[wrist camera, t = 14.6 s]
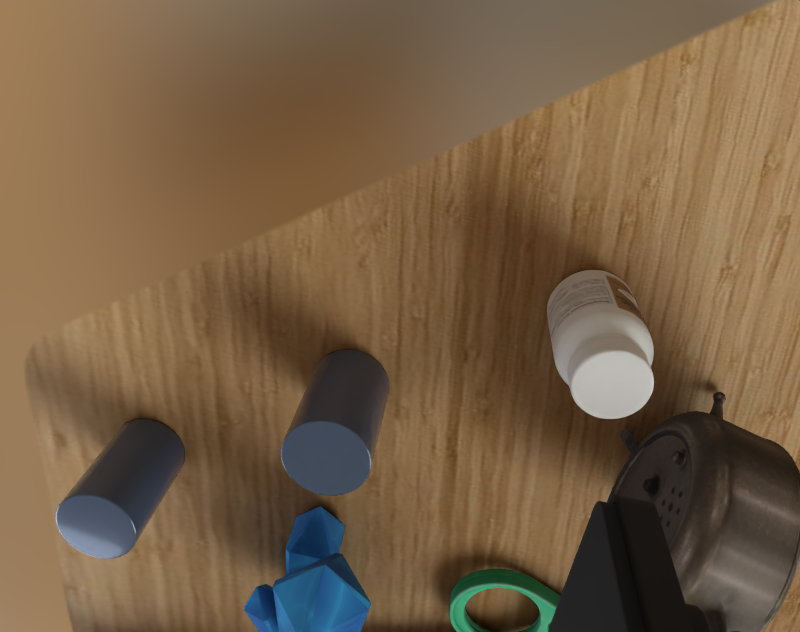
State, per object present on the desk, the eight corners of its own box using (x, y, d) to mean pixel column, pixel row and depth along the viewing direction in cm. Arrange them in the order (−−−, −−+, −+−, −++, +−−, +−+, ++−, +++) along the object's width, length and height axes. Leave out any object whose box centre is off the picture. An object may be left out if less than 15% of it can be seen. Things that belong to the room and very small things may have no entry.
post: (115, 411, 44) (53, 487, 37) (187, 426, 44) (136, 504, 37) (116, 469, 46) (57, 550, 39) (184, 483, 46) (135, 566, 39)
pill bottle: (643, 330, 38) (678, 414, 31) (560, 354, 39) (575, 440, 32) (621, 255, 36) (652, 326, 29) (535, 282, 37) (545, 356, 30)
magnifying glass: (442, 625, 48) (440, 647, 47) (458, 558, 45) (457, 579, 44) (671, 670, 48) (676, 693, 46) (701, 605, 45) (709, 627, 43)
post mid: (317, 342, 40) (284, 412, 34) (395, 357, 40) (377, 431, 34) (308, 407, 42) (276, 486, 36) (383, 423, 42) (364, 504, 36)
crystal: (225, 697, 43) (218, 593, 36) (266, 567, 50) (268, 456, 42) (347, 723, 43) (367, 624, 35) (373, 589, 50) (394, 481, 42)
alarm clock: (646, 530, 43) (724, 818, 29) (564, 496, 43) (601, 771, 28) (757, 389, 38) (918, 649, 24) (665, 349, 38) (773, 589, 23)
